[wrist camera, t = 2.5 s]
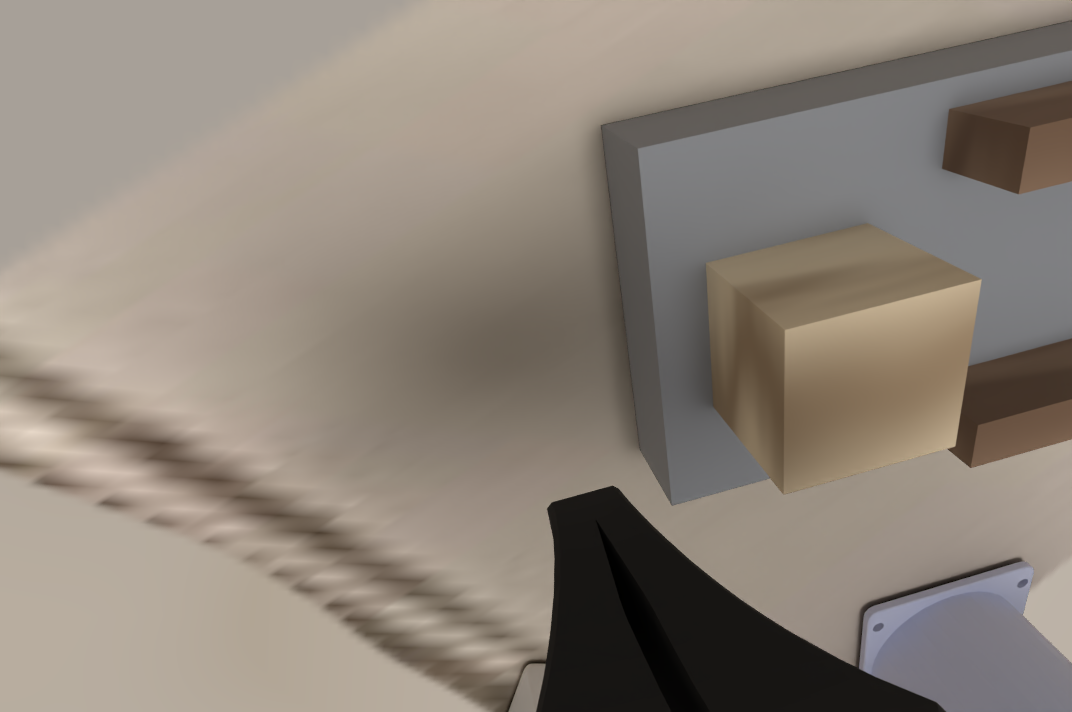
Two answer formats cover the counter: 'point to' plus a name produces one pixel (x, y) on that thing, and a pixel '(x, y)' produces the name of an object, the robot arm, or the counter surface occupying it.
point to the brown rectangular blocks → (1041, 373)
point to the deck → (821, 220)
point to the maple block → (839, 353)
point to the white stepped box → (528, 689)
